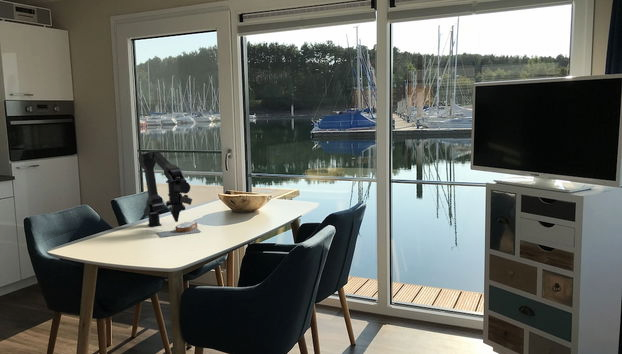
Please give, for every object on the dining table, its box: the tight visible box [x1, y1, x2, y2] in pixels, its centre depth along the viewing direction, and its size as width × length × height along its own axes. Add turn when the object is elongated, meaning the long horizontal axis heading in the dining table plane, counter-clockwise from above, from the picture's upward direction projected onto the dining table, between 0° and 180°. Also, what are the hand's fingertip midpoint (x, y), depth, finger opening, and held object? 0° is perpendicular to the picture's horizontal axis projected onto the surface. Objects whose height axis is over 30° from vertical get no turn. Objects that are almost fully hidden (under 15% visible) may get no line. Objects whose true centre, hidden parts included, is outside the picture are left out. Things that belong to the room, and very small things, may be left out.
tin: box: [175, 221, 198, 233], centre depth 276 cm, size 15×3×8 cm
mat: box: [156, 227, 202, 238], centre depth 271 cm, size 11×20×1 cm, turn 116°
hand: (176, 221), depth 275 cm, fingers closed
